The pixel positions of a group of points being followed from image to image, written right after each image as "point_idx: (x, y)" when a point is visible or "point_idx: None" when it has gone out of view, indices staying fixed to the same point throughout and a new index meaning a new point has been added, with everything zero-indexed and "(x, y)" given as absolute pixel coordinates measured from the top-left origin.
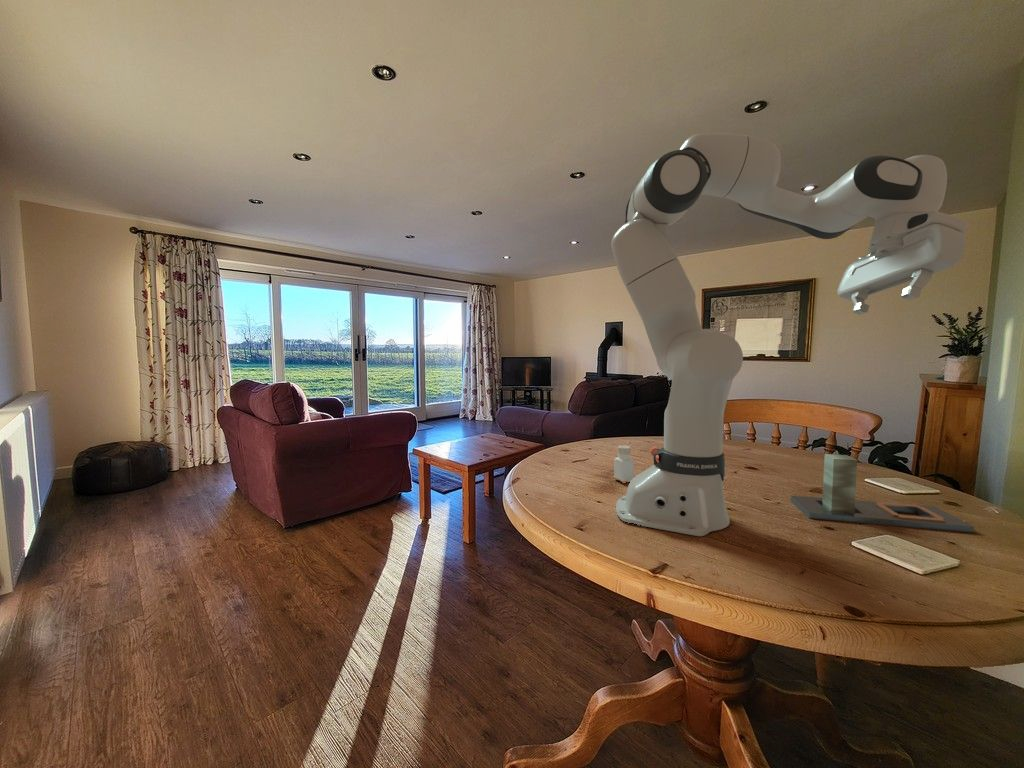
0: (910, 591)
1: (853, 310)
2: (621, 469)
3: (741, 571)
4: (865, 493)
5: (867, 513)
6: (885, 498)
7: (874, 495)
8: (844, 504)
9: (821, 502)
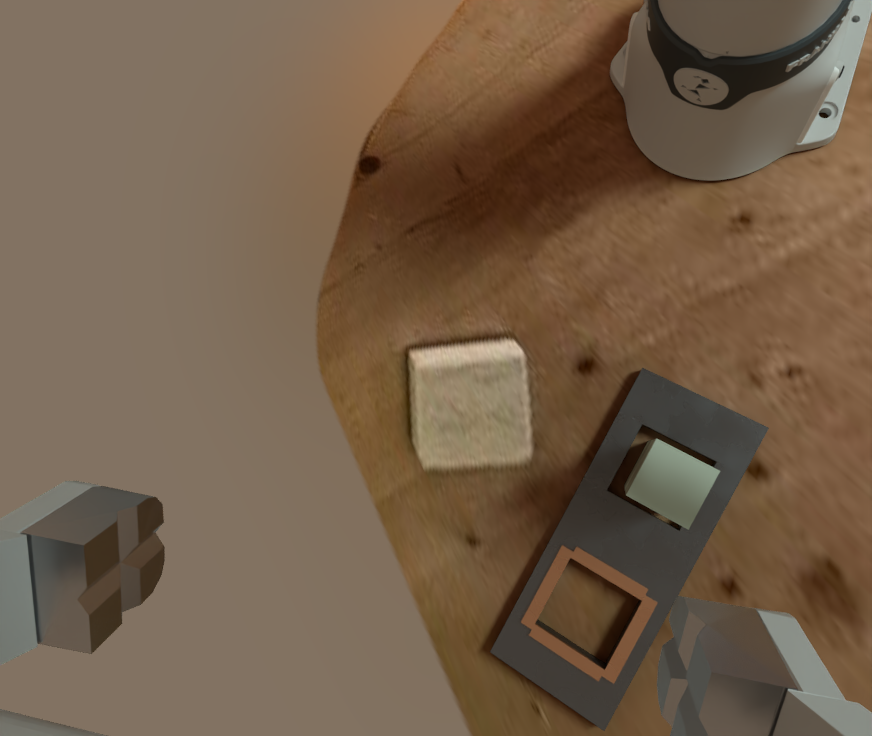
0: (381, 283)
1: (791, 619)
2: None
3: (484, 78)
4: None
5: (605, 502)
6: None
7: None
8: (635, 466)
9: None
